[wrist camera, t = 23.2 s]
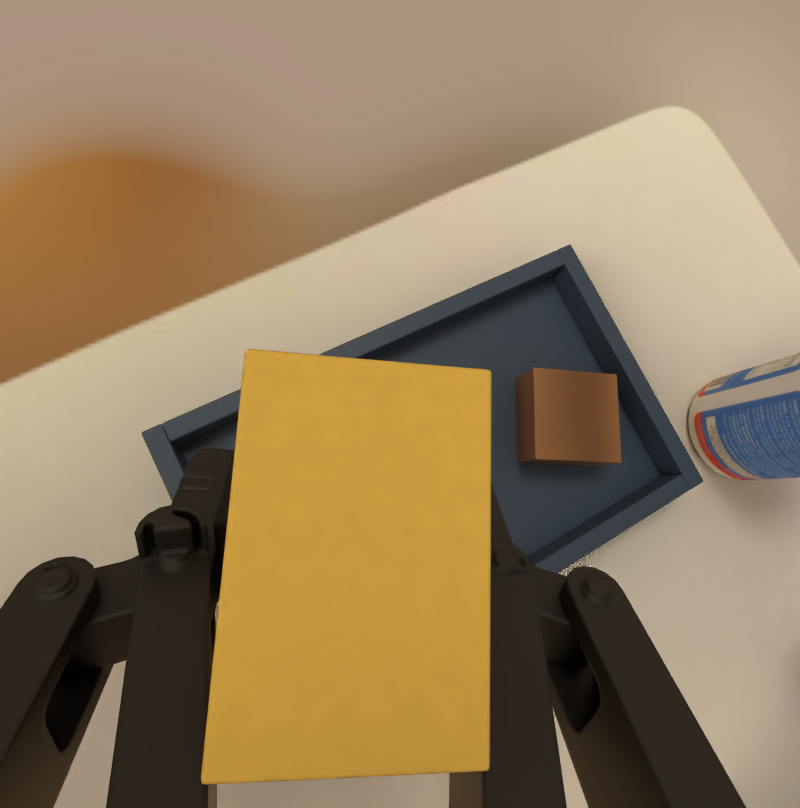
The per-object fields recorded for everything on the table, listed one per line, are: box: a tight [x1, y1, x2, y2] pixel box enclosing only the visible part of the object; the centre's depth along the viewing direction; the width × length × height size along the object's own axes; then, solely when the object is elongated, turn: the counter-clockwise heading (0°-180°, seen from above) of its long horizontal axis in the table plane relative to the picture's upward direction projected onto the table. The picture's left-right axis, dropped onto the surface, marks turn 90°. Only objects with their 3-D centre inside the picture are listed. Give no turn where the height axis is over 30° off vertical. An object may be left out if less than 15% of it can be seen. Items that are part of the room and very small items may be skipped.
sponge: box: [201, 349, 491, 785], centre depth 13 cm, size 4×6×12 cm, turn 178°
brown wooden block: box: [516, 368, 621, 466], centre depth 23 cm, size 4×4×2 cm
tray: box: [142, 245, 703, 601], centre depth 22 cm, size 21×13×2 cm, turn 118°
